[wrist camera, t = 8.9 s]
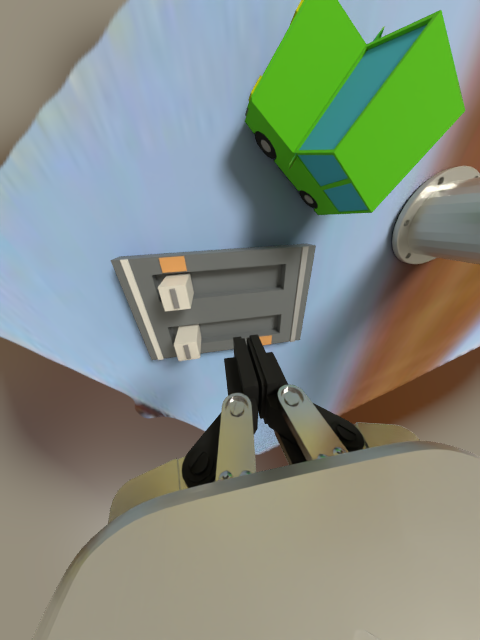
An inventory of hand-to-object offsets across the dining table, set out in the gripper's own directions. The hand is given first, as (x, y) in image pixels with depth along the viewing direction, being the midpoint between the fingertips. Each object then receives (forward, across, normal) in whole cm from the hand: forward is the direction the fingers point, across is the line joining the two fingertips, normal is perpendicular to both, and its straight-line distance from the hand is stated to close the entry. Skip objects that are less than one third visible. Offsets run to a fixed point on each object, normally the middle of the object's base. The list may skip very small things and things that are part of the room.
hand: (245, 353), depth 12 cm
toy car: (+17, -10, -15) cm, 25 cm away
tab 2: (+16, +6, +8) cm, 19 cm away
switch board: (+17, 0, +4) cm, 17 cm away
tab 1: (+16, +6, 0) cm, 17 cm away
